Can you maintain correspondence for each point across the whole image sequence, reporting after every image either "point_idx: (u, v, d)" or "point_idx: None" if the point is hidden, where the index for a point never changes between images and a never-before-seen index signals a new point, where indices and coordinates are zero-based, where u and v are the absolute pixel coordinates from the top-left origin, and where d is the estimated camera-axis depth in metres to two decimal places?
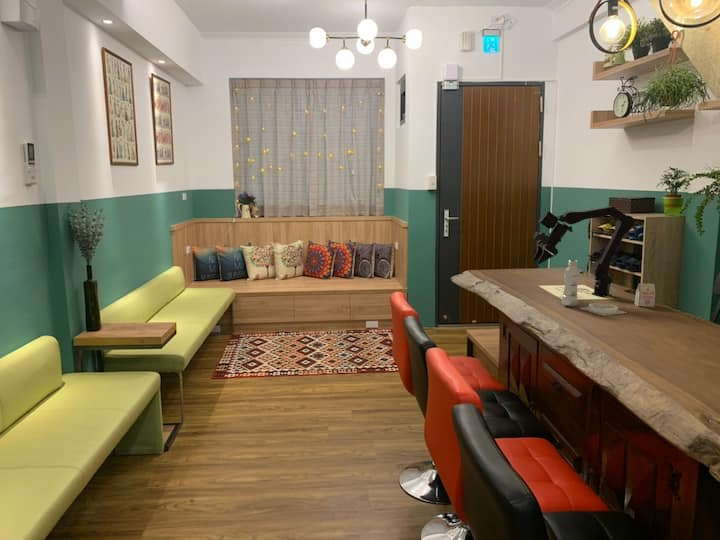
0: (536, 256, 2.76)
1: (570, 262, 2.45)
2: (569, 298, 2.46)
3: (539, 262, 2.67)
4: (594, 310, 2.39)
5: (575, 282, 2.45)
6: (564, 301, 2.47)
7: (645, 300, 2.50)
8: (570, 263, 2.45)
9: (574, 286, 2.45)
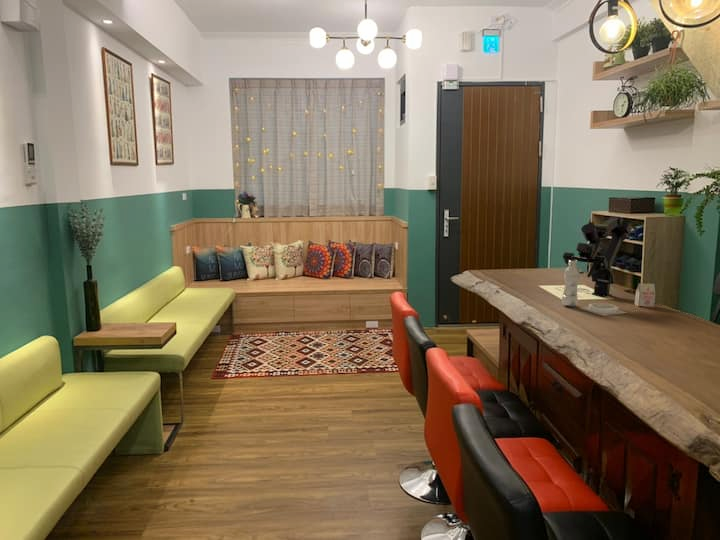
0: None
1: (570, 262, 2.45)
2: (569, 298, 2.46)
3: (589, 275, 2.48)
4: (594, 310, 2.39)
5: (575, 282, 2.45)
6: (564, 301, 2.47)
7: (645, 300, 2.50)
8: (570, 263, 2.45)
9: (574, 286, 2.45)
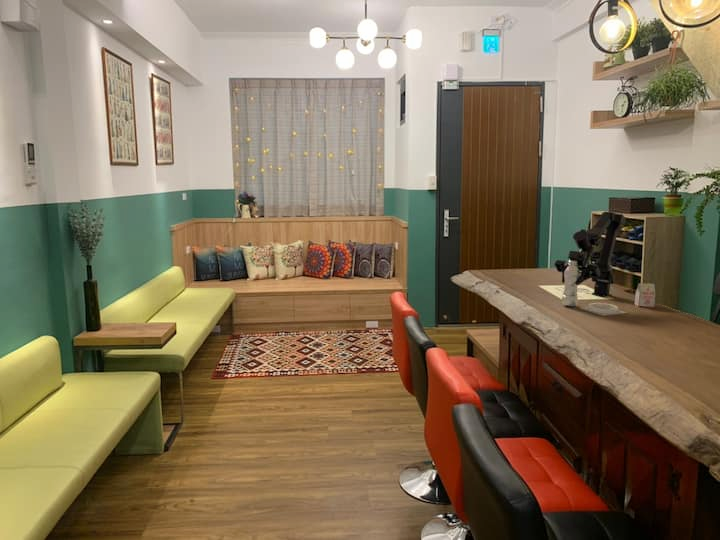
0: (564, 278, 2.49)
1: (570, 262, 2.45)
2: (569, 298, 2.46)
3: (578, 283, 2.44)
4: (594, 310, 2.39)
5: (575, 282, 2.45)
6: (564, 301, 2.47)
7: (645, 300, 2.50)
8: (570, 263, 2.45)
9: (574, 286, 2.45)
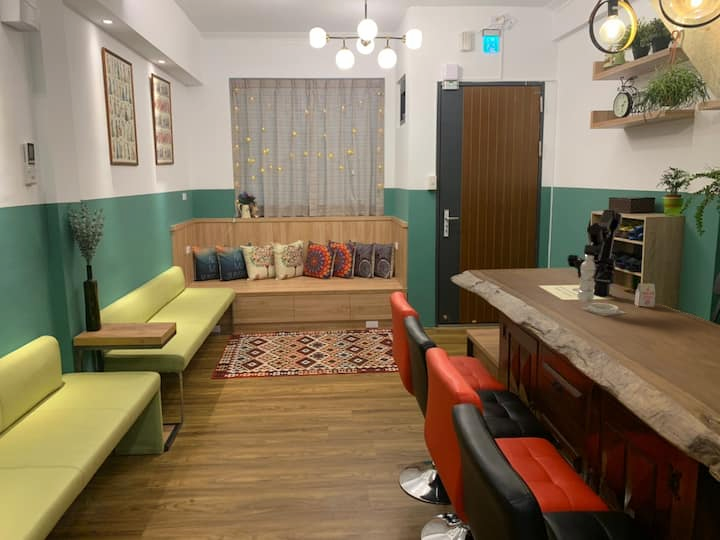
0: (580, 273, 2.44)
1: (587, 257, 2.40)
2: (587, 293, 2.41)
3: (595, 278, 2.40)
4: (594, 310, 2.39)
5: (593, 277, 2.40)
6: (581, 296, 2.42)
7: (645, 300, 2.50)
8: (587, 258, 2.40)
9: (592, 281, 2.41)
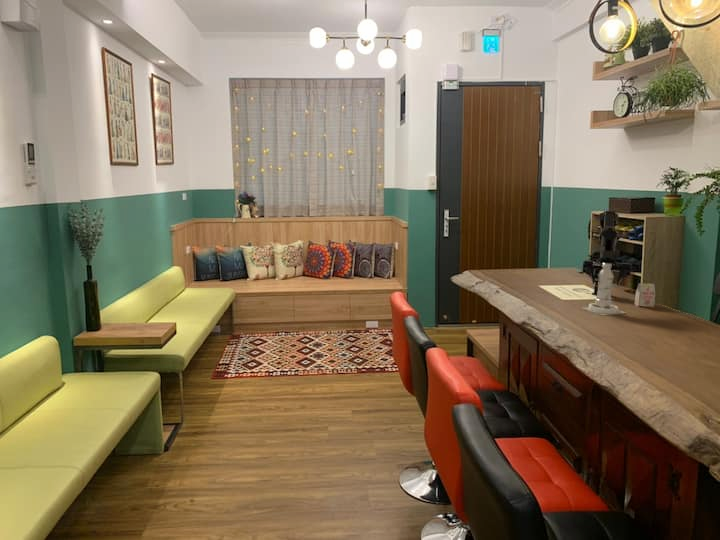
0: (594, 279, 2.41)
1: (606, 265, 2.37)
2: (606, 302, 2.38)
3: (618, 284, 2.37)
4: (594, 310, 2.39)
5: (611, 285, 2.38)
6: (600, 305, 2.39)
7: (645, 300, 2.50)
8: (606, 266, 2.37)
9: (610, 289, 2.38)
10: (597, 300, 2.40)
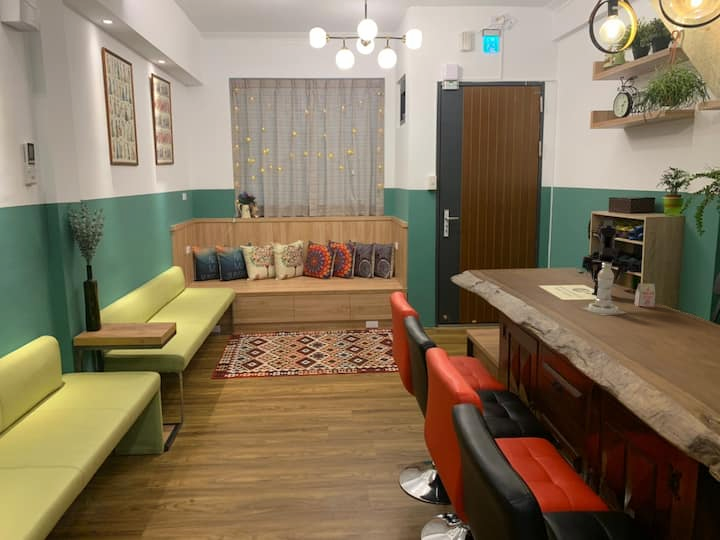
0: None
1: (606, 265, 2.37)
2: (606, 302, 2.38)
3: (616, 280, 2.46)
4: (594, 310, 2.39)
5: (611, 285, 2.38)
6: (600, 305, 2.39)
7: (645, 300, 2.50)
8: (606, 266, 2.37)
9: (610, 289, 2.38)
10: (597, 300, 2.40)
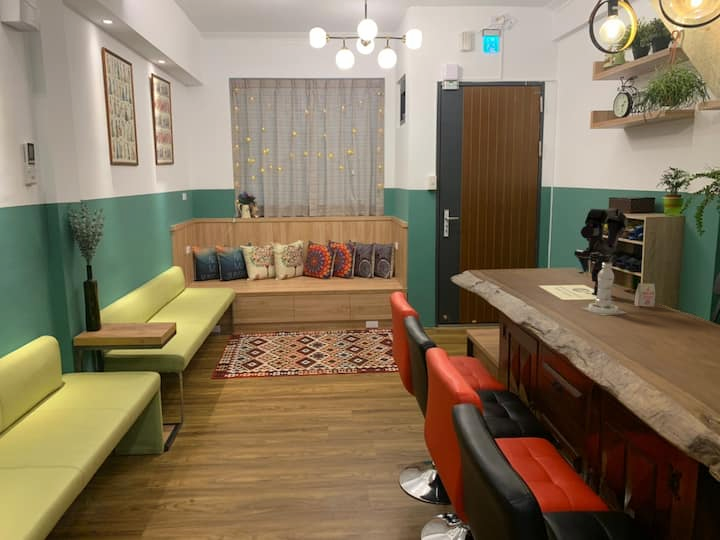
0: None
1: (606, 265, 2.37)
2: (606, 302, 2.38)
3: None
4: (594, 310, 2.39)
5: (611, 285, 2.38)
6: (600, 305, 2.39)
7: (645, 300, 2.50)
8: (606, 266, 2.37)
9: (610, 289, 2.38)
10: (597, 300, 2.40)
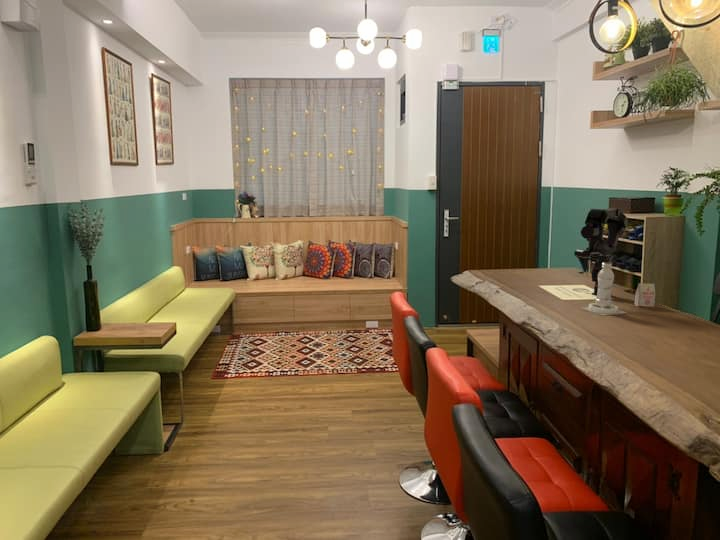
0: None
1: (606, 265, 2.37)
2: (606, 302, 2.38)
3: None
4: (594, 310, 2.39)
5: (611, 285, 2.38)
6: (600, 305, 2.39)
7: (645, 300, 2.50)
8: (606, 266, 2.37)
9: (610, 289, 2.38)
10: (597, 300, 2.40)
